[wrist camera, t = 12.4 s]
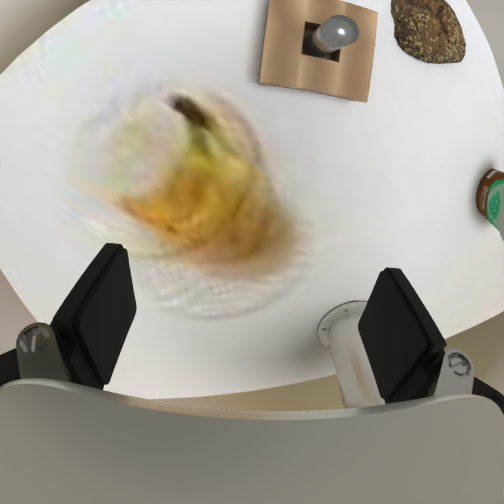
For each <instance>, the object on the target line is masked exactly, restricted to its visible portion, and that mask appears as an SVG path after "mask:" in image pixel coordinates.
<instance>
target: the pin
mask: <svg viewBox="0 0 504 504" xmlns="http://www.w3.org/2000/svg"><path fill="white" fill-rule="evenodd" d="M358 37H359V28H358V26H357V24H356V23H355V22H354V21H353V20H352V19H351V18H349V17H347V16H345V15H333V16H331V17H330V18H329V19H328V20H326V21H325V22H324V23H323V24H322V25H321V26H320V27H319V28H317V29H316V30H315V31H314V32H313V33H312V34H311V35H310V36H309V37H308V38H307V39H306V40H305V41H304V43H303V49H304V52H305V53H306V54H307V55H308V56H313V57H318V58H321V57H323V56H325V55H327V54H330V53H332V52H334V51H336V50H338V49H341V48H343V47H345V46H347V45H350V44H352V43H354V42H355V41H356V40H357V39H358Z"/></svg>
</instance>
